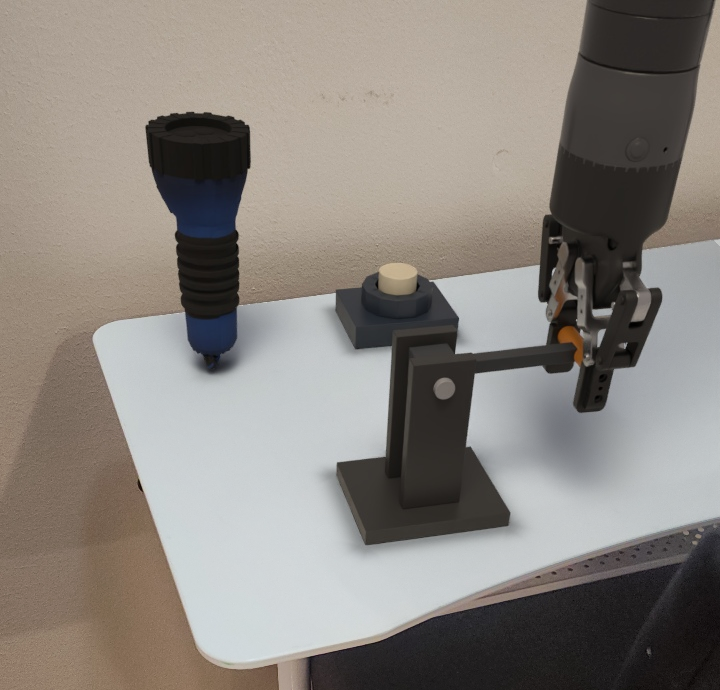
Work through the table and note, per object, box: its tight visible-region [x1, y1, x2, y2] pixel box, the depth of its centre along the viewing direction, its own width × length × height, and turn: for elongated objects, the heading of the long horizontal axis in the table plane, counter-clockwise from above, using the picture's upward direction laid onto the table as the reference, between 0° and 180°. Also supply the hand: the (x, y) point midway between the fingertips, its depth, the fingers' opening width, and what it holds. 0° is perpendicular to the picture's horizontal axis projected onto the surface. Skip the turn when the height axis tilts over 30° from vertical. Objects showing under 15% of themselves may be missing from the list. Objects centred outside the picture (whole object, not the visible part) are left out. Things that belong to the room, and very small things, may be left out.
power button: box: [378, 262, 418, 295], centre depth 93 cm, size 4×4×2 cm
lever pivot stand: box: [336, 325, 511, 546], centre depth 72 cm, size 11×9×13 cm
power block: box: [335, 271, 460, 350], centre depth 95 cm, size 10×8×4 cm
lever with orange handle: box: [407, 326, 583, 378], centre depth 69 cm, size 13×5×2 cm, turn 104°
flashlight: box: [144, 111, 252, 370], centre depth 83 cm, size 8×8×20 cm
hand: (572, 388), depth 72 cm, fingers closed on lever with orange handle, 5 cm apart
